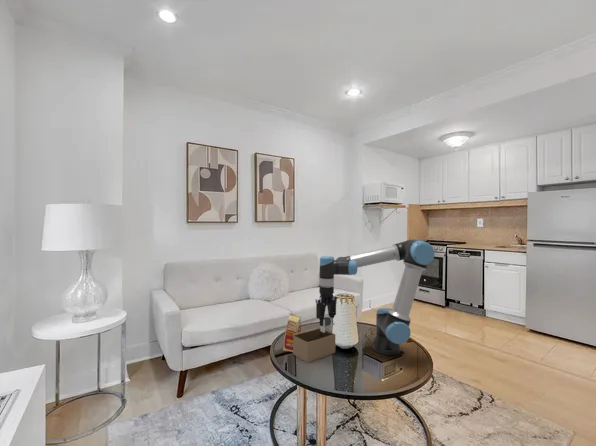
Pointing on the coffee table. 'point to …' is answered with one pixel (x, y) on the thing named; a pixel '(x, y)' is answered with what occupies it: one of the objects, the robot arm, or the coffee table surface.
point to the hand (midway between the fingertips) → (326, 330)
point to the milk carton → (291, 331)
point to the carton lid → (327, 323)
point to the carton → (313, 345)
